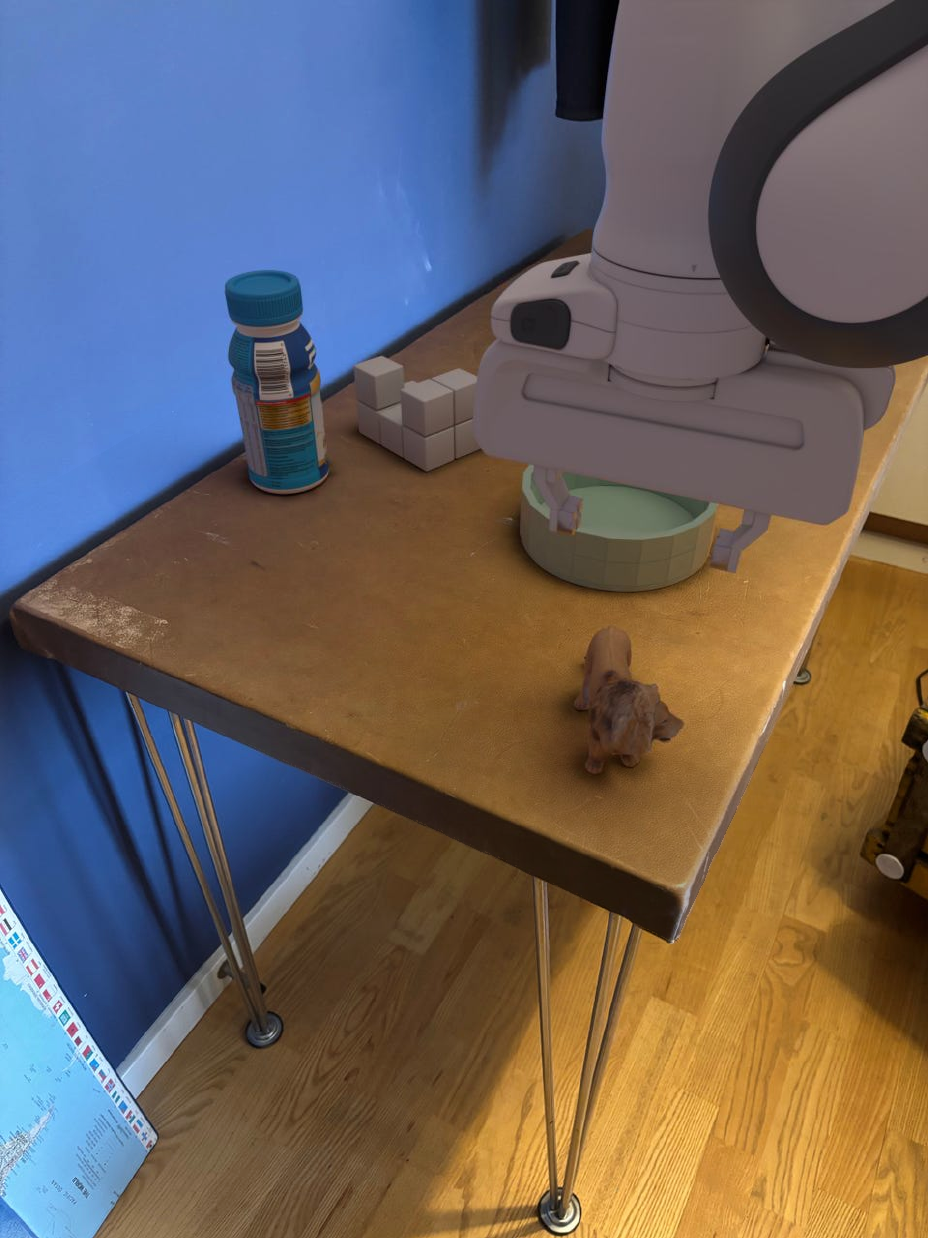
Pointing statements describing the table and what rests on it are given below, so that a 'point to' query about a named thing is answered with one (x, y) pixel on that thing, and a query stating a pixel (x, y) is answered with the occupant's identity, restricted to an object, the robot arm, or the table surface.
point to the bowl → (619, 535)
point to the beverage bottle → (276, 383)
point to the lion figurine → (620, 703)
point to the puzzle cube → (416, 412)
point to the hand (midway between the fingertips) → (642, 546)
